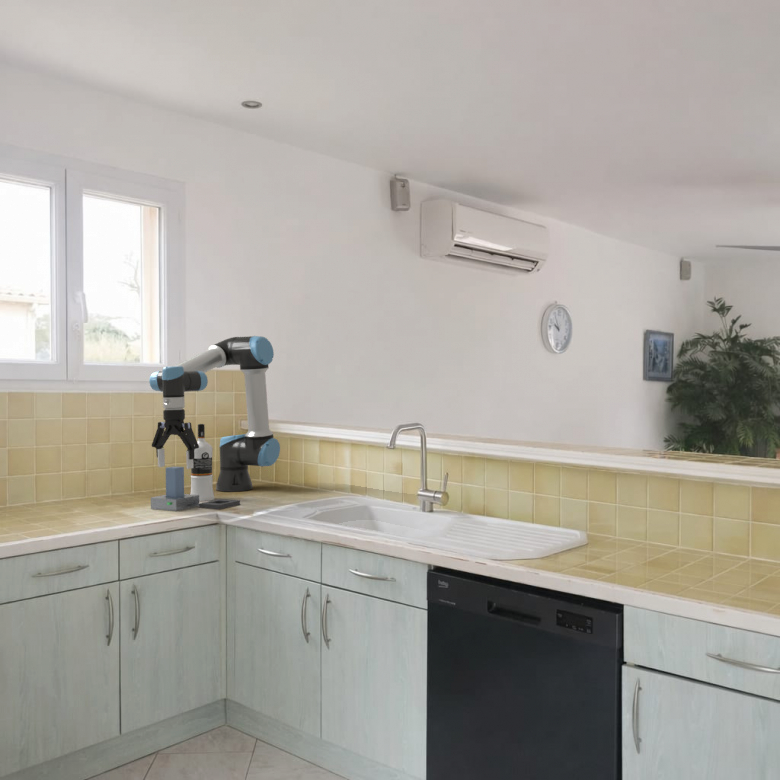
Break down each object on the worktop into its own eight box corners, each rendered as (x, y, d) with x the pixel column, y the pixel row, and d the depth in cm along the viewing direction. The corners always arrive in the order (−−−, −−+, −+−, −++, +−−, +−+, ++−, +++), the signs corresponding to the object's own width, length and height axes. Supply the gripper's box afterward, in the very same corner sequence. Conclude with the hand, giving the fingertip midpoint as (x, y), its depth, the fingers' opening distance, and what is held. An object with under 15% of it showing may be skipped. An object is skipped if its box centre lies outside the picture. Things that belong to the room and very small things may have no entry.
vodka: (211, 499, 316) (210, 422, 315) (216, 502, 308) (216, 424, 307) (187, 501, 312) (186, 423, 311) (192, 504, 303) (191, 424, 303)
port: (174, 506, 299) (174, 493, 299) (199, 508, 294) (199, 495, 293) (149, 511, 288) (149, 497, 288) (174, 514, 282) (174, 500, 282)
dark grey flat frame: (220, 505, 300) (220, 498, 300) (240, 507, 296) (240, 500, 296) (199, 510, 290) (199, 503, 290) (218, 512, 286) (218, 505, 285)
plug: (174, 504, 294) (174, 466, 294) (184, 505, 292) (183, 466, 292) (166, 506, 290) (165, 467, 290) (175, 507, 288) (175, 468, 288)
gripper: (140, 409, 293) (142, 467, 294) (193, 410, 281) (195, 470, 282) (155, 407, 299) (157, 464, 300) (207, 408, 288) (209, 467, 289)
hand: (175, 467), depth 291 cm, fingers open, 13 cm apart
